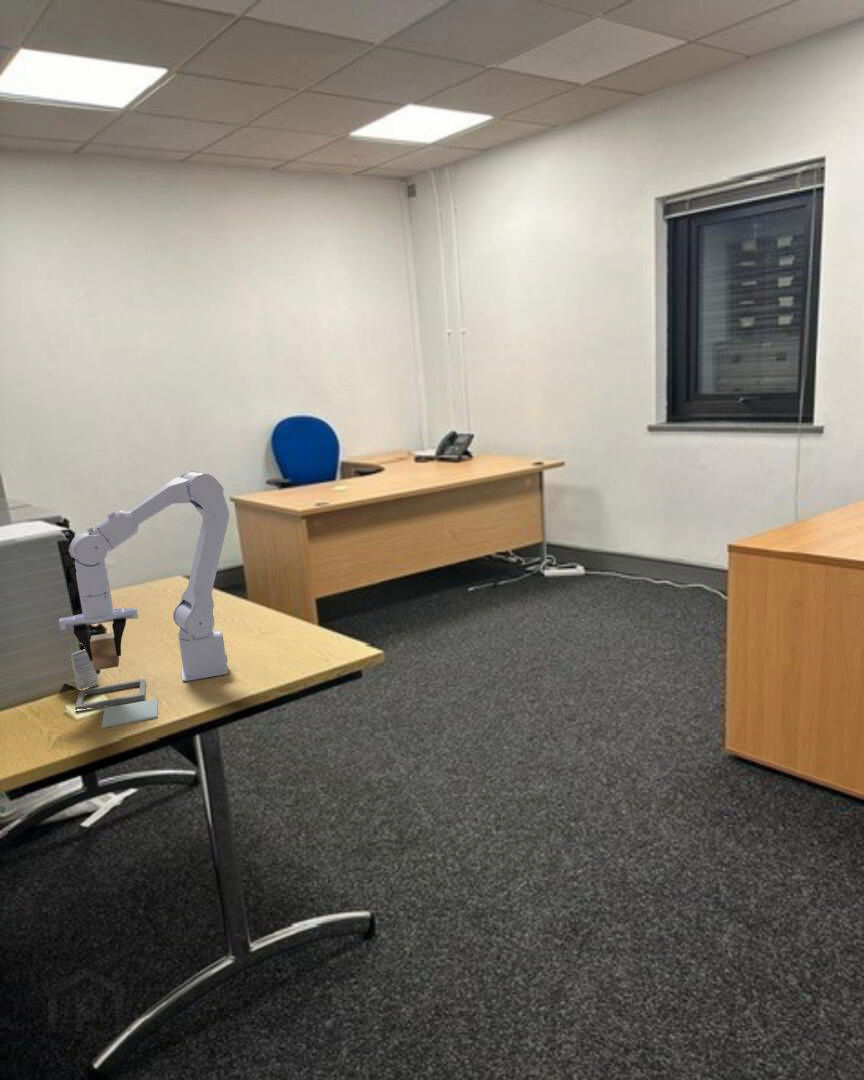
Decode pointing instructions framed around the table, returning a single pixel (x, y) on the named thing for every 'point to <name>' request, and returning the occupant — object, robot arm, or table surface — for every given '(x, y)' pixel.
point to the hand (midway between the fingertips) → (105, 656)
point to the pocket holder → (111, 688)
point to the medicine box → (83, 670)
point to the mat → (130, 713)
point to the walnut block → (104, 651)
